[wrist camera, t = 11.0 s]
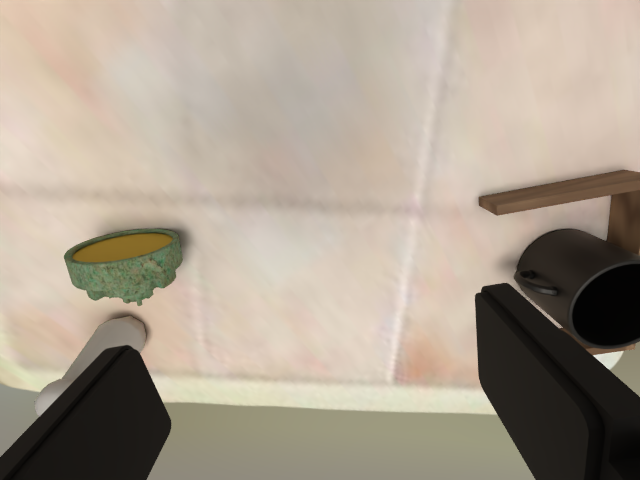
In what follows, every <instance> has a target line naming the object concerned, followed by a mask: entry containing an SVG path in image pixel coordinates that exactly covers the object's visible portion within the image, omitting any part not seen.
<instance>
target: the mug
mask: <svg viewBox="0 0 640 480" xmlns="http://www.w3.org/2000/svg"><path fill="white" fill-rule="evenodd" d="M514 279H515V281H516V282H517V283H518V284H519V285H520V287H521V289H522V291H523V292H524V293H525V294H526V295H527V296H528V297H529V298H530V299H531V300H532V301H534V302H535V303H536V304H537V305H538V306H539V307H541V308H542V309H543V310H544V311H545V312H546V313H547V314H549V315H550V316H551V317H552V318H553V319H554V320H555V321H557V322H558V323H559V324H560V325H561V326H562V327H563V328H565V329H566V330H567V331H568V332H569V333H570V334H571V335H573V336H574V337H575V338H576V339H577V340H579V341H580V342H582V343H583V344H585V345H588V346H590V347H594V348H599V349H616V348H622V347H626V346H629V345H632V344H635V343H637V342H639V341H640V256H639V255H637V254H635V253H632V252H630V251H628V250H625V249H623V248H621V247H618V246H616V245H614V244H611V243H609V242H607V241H604V240H602V239H600V238H597V237H595V236H593V235H591V234H588V233H586V232H583V231H580V230H574V229H567V230H559V231H554V232H551V233H549V234H546V235H544V236H542V237H541V238H539V239H538V240H536V241H535V242H534V243H532V244H531V245H530V246H529V247H528V249H527V250H526V251H525V252H524V254H523V256H522V258H521V260H520V262H519V265H518V272H516V273H515V275H514Z"/></svg>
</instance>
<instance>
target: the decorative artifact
mask: <svg viewBox="0 0 640 480" xmlns="http://www.w3.org/2000/svg"><path fill="white" fill-rule="evenodd" d="M64 259H65V262H66V265H67V269H68V272H69V275H70V278H71V281H72V284H73V285H74V286H75V287H77V288H79V289H82V290H86V291H87V294H88V296H89V298H91V299H93V300H95V301H96V300H98V299H100V298H103V297H109V298H112V297H119V298H122V299H123V302H125V303H130V302H136V301H137V305H138V306H141V305H142V301H141V300H143V299H145V298H150V297H151V296H152V295H153V290H154V288H156V287H159V288H165V287H166V286H168V285H169V284H171V283H172V282H173V281H174V280H175V278H176V272H175V269H177V268H178V267H179V266H180V264H181V263H182V260H183V259H182V253H181V248H180V242H179V237H178V234H177V233H175V232H173V231H170V230H165V229H137V230H129V231H122V232H117V233H112V234H107V235H104V236H100V237H96V238H93V239H90V240H87V241H85V242H82V243H80V244H78V245H76V246H74V247H72V248H71V249H69V250H68V251H67V252H66V253H65V255H64Z"/></svg>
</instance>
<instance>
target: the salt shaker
mask: <svg viewBox="0 0 640 480" xmlns="http://www.w3.org/2000/svg"><path fill="white" fill-rule="evenodd" d="M145 339H146V332H145V328H144V324H143V323H142V322H140V321H139V320H137V319H135V318H134V317H132V316H127V317H122V318H117V319H111V320H109V321H107V322H105V323H103V324H101V325H99V327H98V328H97V330H96V331H95V332H94V334H93V335H92V337H91V338H90V340H89V341H88V342H87V344H86V345H85V347H84V348H83V349H82V351H81V352H80V354H79V355H78V357H77V358H76V359H75V361H74V362H73V364H72V365H71V366H70V368H69V369H68V371H67V372H66V374H65V375H64V376H63V378H62V379H59V380H56V381H54V382H52V383H50V384H48V385H47V386H46V387H45V388H43V389H42V391H41V392H40V393H39V395H38V396H37V398H36V400H35V401H34V402H35V410H36V413H37V414H38V416H39V417H40V416H41V415H42V414H43V413H44V411H45V410H46V409H47V408H48V407H49V406H50V405H51V404H52V403H53V402H54V401H55V400H56V399H57V398H58V397H59V396H60V395H61V394H62V393H63V392H64V391H65V390H66V389H67V388H68V387H69V386H70V385H71V384H72V382H73V381H74V380H75V379H76V378H77V377H78V376H79V375H80V374H81V373H82V372H83V371H84V370H85V369H86V368H87V367H88V366H89V365H90V364H91V363H92V362H93V361H94V360H95V359H96V358H97V357H98V356H99V355H100V353H101V352H102V351H104V350H105V349H107V348H111V347H117V346H123V345H130V346H131V347H133V348H134V349H136V350H138V352H139V353H141V351H142V350H143V348H144V345H145Z"/></svg>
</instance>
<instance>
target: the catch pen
mask: <svg viewBox="0 0 640 480" xmlns="http://www.w3.org/2000/svg"><path fill="white" fill-rule="evenodd" d="M608 195H612V199H611V209H610V218H609V228H608V238H607V242H609V243H611V244H614V245H616V246H618V247H621V248H623V249H625V250H628V251H630V252H632V253H635V254H637V255H639V256H640V172H634V171H628V170H621V171H616V172H610V173H605V174H599V175H594V176H589V177H583V178H578V179H573V180H567V181H562V182H556V183H551V184H546V185H540V186H535V187H529V188H524V189H519V190H513V191H508V192H502V193H497V194H492V195H486V196H481V197H479V206H481V207H483V208H484V209H486V210H488V211H490V212H492V213H493V214H495V215H503V214H508V213H514V212H519V211H525V210H531V209H536V208H542V207H547V206H553V205H558V204H564V203H569V202H575V201H580V200H586V199H592V198H597V197H603V196H608ZM560 330H563V331H564V332H566V333H567V334H569V335H570V336H571V337H572V338H573V339H575V340H576V341H577V342H578V343H579V344H580V345H581V346H582V347H584V348H585V349H586V350H587V351H588V352H589V353H590V354H592V355H597V354H604V353H611V352H618V351H625V350H632V349H635V344H632V345H629V346H626V347H622V348H616V349H599V348H594V347H590V346H588V345H585V344H583V343H582V342H580V341H579V340H577V339H576V338H575V337H574V336H573V335H571V334H570V333H569V332H568V331H567V330H566V329H565V328H561V329H560Z"/></svg>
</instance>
